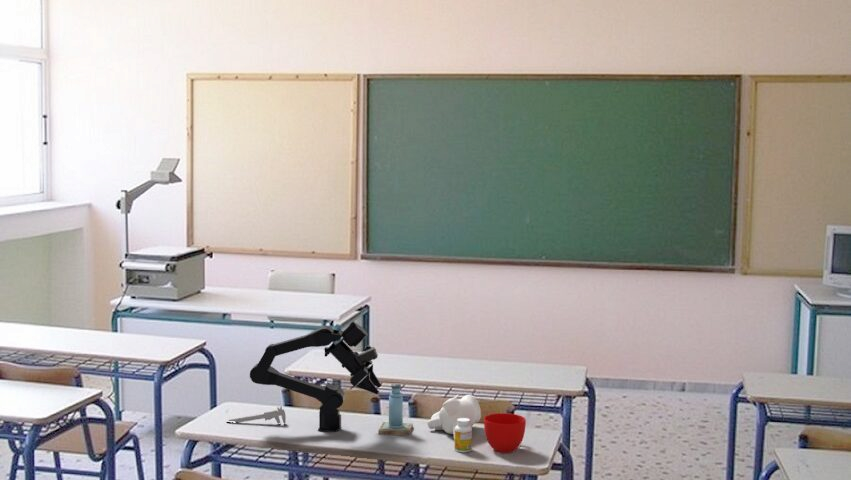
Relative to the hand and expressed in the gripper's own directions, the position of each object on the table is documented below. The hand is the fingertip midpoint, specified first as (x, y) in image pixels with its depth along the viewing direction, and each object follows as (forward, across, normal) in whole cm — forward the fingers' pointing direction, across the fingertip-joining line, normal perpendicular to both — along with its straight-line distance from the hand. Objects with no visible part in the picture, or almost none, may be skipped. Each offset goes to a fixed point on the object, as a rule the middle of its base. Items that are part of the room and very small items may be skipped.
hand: (379, 389), depth 333 cm
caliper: (-20, +5, +40) cm, 45 cm away
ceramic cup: (+39, -17, -19) cm, 47 cm away
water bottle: (+12, 0, +5) cm, 13 cm away
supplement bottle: (+30, -20, -10) cm, 37 cm away
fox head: (+27, -1, -7) cm, 28 cm away
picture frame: (+14, 0, +6) cm, 15 cm away
